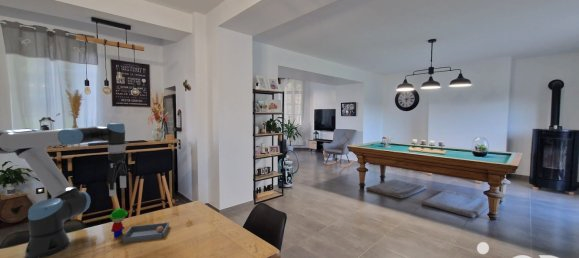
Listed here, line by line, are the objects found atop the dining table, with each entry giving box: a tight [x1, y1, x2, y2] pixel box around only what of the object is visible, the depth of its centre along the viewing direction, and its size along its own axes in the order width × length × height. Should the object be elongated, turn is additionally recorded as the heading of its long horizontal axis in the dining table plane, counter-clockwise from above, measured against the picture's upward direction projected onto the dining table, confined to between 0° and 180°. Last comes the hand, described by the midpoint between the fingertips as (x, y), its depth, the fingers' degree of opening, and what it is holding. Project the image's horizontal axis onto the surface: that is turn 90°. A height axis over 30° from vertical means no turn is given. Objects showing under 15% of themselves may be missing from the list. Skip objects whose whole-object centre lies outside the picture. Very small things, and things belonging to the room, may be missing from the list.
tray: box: [121, 222, 170, 244], centre depth 131 cm, size 19×13×3 cm
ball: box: [156, 226, 164, 233], centre depth 133 cm, size 4×4×4 cm
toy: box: [109, 208, 128, 239], centre depth 130 cm, size 8×8×15 cm
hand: (118, 191), depth 129 cm, fingers open, 13 cm apart
